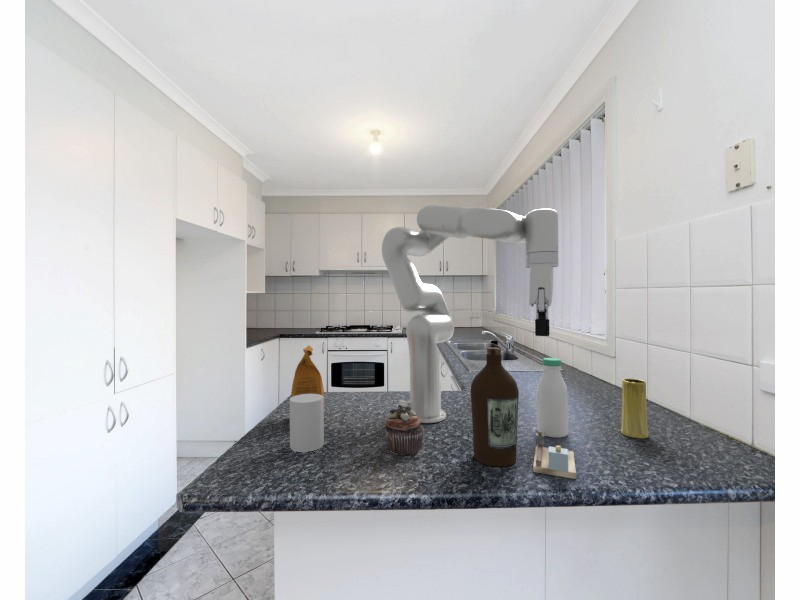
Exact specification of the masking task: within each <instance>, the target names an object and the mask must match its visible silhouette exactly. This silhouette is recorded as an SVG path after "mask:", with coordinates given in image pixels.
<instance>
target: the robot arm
mask: <svg viewBox="0 0 800 600" xmlns="http://www.w3.org/2000/svg"><path fill="white" fill-rule="evenodd" d="M416 223H417V226H418V227H419V229H420V230H418V229H414V228H410V227H405V226H397V227H396V226H395V227H392V228H390V229H388V230H387V232H386V233H385V235H384V237H383V240H382V243H381V244H382V245H381V255H382V256H381V257H382V260H383V262H384V264H385V267H386V269H387V272H388V273H389V276H390V278H391V281H392V284H393V286H394V289H395V292H396V295H397V299H398V301H399V303H400V306H401V308H402V309H403V311H405V312H407V313H413V314H415V313H416V314H417V313H421V314H417V315H415V316H413V317H411V319H410V320H409V321H408V322H407V325H406V329H405V330H406V331H405V333H406V338H407V345H408V351H409V399H408V401H407V400H403V399H399V400H398V406H399V405H401V406H402V407H404V409H405V407H410V408H411V410H412V411H413V412H415V413H416V416H417V417H419V418H420V423H421V424H434V423H438V422H439V423H440V422H442V421H444V420H445V419H447V413H446V411H445V410H443V409H442V388H441V387H442V386H441V385H442V381H441V380H442V379H441V378H442V376H441V375H442V374H441V373H442V372H441V370H442V367H441V363H442V362H441V361H442V360H441V355H440V352H439V351H440V350H439V348H438V345H437V344H439V343H445V342H448V341H449V340H450V339H451V338H452V337H453V336H454V332H455V322H454V320H453V317H452V314H451V311H450V309H449V306H448V305H447V302H446V300H445V297H444V295H443V293H442V291H441V290H440V289H439V287H437V286H436V285H434V284H432V283H425V282H422V280H421V278H420V276H419V274H418V270H417V269H416V267H415V264H414V263H413V262H412V261H411V260H410V259H409V257H408V256H414V257H425V256H426V255H429V254H430V253H432V252H433V251H434V250H435V249H437V248H438V247H439V246H440V245H442V244H444V242H445V241H447V240H448V239H449V238H456V239H467V237H472V238H473V237H474V238H479V239H485V240H486V239H487V240H493V241H497V242H501V243H505V244H508V245H511V246H518V245H523V244H525V268H527V269H529V289H528V290H529V292H528V293H529V296H528V297H529V300H528V301H529V303H528V306H529V307H531V308H533V307H534V305H535V319H534V327H535V328H534V331H535V332H534V333H535V336H536V337H550V318H549V307H551V306H552V301H553V296H554V295H553V292H554V268H556V267H559V266H560V265H559V264H560V263H559V214H558V212H557V210H555V209H552V208H539V209H533V210H530V211H529V212H527V214H526V215H525V216H523V215H519V214H516V213H514V212H511V211H509V210H505V209H499V208H488V207H460V206H459V207H458V206H455V207H454V206H447V205H446V206H445V205H436V204H435V205H433V204H430V205H426V206H423V207H422V208H421V209H420V210H419V211H418V212H417V215H416Z"/></svg>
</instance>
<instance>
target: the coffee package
mask: <svg viewBox="0 0 800 600" xmlns="http://www.w3.org/2000/svg"><path fill="white" fill-rule="evenodd" d="M313 351H314V349H313V347H312V346H311V345H308V346H307V347H305V348H303V353H304V354H303V357H302V358H301V360H300V361H299V362H298V363H297V365H296V368H295V370H294V377H293V379H292V380H293V381H292V384H291V392H290V393H291V394H290V398H291V397H293V396H296V395H301V394H320V395H322V396H323V407H324V408H325V389H324V384H323V383H324V382H323V379H322V375H321V373H320V371H319V369H318V367H317V366H316V364H315V363H314V362H313V360H312V358H311V356H313Z"/></svg>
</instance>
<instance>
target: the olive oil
mask: <svg viewBox="0 0 800 600" xmlns="http://www.w3.org/2000/svg"><path fill="white" fill-rule="evenodd" d="M501 352H502V349H501V348H500V347H495V346H493V347H491V346H490V347H486V360H485V361H486V364H485V365H484V367H482V369H480V371H479V372H478V373H477V374H476V375H475V376H474V377H473V379H472V381H471V385H470V403H471V404H470V405H471V421H472V441H473V442H472V443H473V458H474V459H475V460H476V461H477V462H479V463H480V464H483V465H486V466H489V467H496V468H497V467H499V468H501V467H502V468H503V467H504V468H505V467H509V466H512V465H514V464H515V463H516V462H517V447H518V446H517V444H518V421H519V420H518V416H519V415H518V413H519V398H520V397H519V396H520V395H519V394H520V392H519V386H518V384H517V382H516V379H515V378H514V377H513V376H512V375H511V374H510V373H509V371H508V370H507V369H506V368H505V367H504V366H503V363H502V357H503V356H502V353H501Z"/></svg>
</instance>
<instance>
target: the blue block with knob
mask: <svg viewBox="0 0 800 600" xmlns="http://www.w3.org/2000/svg"><path fill="white" fill-rule="evenodd" d="M548 448H549V469H551V470H557V471H563V472H568V451H569V449H568V448H562V447H561V445H555V447H554V446H550V445H549V446H548Z"/></svg>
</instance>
